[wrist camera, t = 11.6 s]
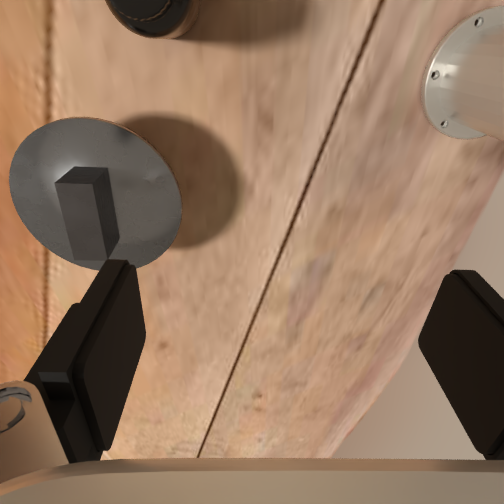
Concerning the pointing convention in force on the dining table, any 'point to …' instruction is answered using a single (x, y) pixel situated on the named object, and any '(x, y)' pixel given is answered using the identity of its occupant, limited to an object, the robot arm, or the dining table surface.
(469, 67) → the robot arm
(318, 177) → the dining table surface
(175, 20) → the supplement bottle
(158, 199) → the lid
